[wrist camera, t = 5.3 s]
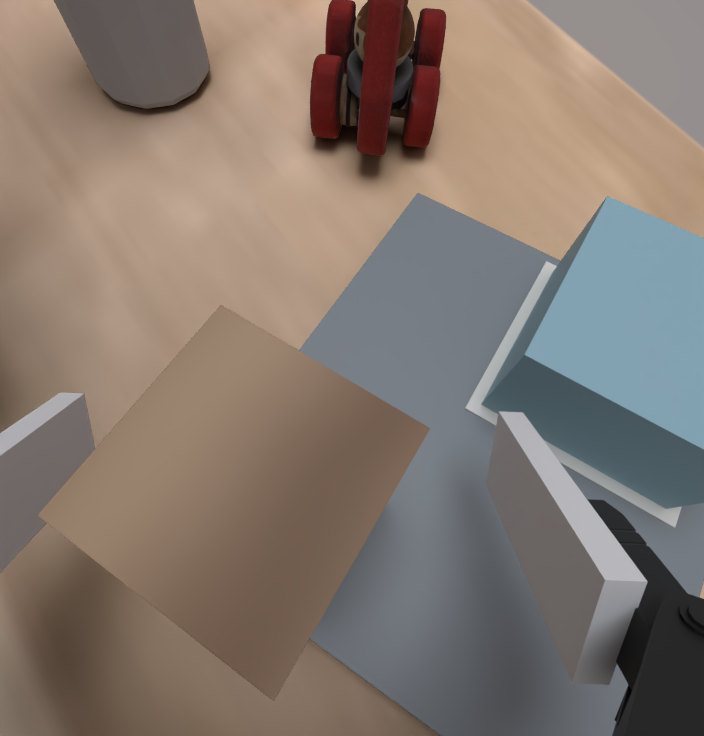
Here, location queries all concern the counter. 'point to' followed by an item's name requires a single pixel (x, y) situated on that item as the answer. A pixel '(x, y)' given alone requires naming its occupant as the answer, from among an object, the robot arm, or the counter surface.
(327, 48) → the toy fire truck
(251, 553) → the walnut block
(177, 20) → the water bottle
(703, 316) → the teal block
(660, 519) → the slate board
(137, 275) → the counter surface
